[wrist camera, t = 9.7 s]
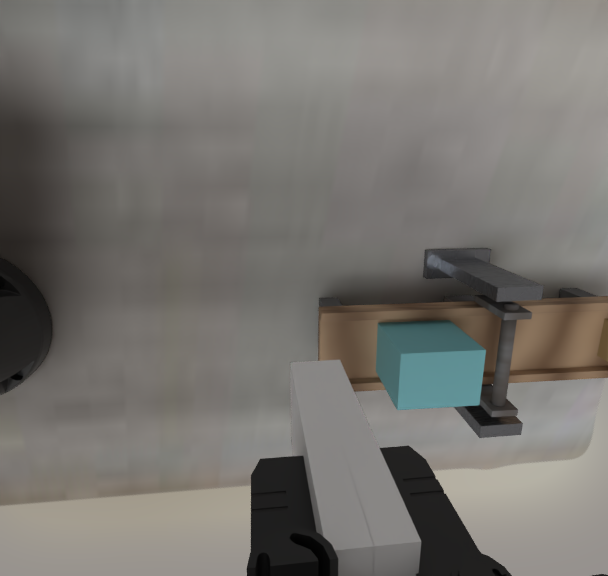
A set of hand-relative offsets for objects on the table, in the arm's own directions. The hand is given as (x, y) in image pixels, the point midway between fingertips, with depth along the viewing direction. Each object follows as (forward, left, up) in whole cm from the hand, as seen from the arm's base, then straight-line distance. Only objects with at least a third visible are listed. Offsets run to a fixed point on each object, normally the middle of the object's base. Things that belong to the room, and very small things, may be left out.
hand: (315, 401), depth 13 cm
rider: (+13, -10, -26) cm, 30 cm away
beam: (+20, -10, -32) cm, 39 cm away
